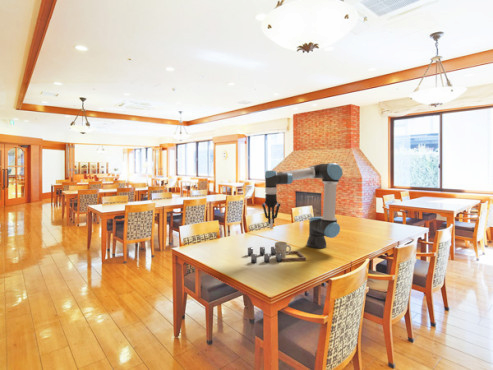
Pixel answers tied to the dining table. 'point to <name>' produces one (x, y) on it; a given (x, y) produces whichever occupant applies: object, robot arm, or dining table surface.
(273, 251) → the spacer field
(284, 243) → the mug
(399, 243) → the dining table surface
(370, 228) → the dining table surface
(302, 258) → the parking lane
